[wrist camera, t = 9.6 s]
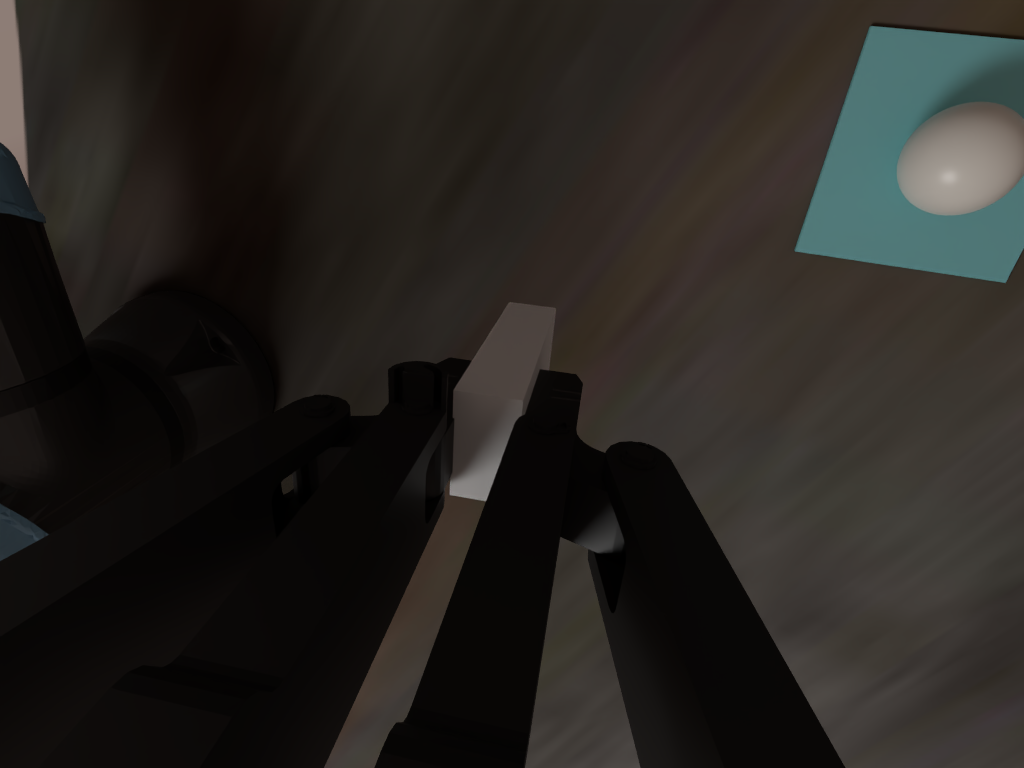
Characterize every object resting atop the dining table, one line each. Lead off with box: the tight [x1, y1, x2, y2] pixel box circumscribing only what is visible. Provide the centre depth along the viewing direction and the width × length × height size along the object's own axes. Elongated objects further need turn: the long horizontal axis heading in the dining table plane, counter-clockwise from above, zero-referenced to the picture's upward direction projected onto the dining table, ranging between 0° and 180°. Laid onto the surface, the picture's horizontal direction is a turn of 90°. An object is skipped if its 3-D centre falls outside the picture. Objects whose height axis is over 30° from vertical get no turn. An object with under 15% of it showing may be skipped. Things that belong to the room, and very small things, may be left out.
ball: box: [897, 102, 1024, 216], centre depth 29 cm, size 6×6×6 cm
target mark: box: [794, 26, 1024, 283], centre depth 31 cm, size 12×12×1 cm
